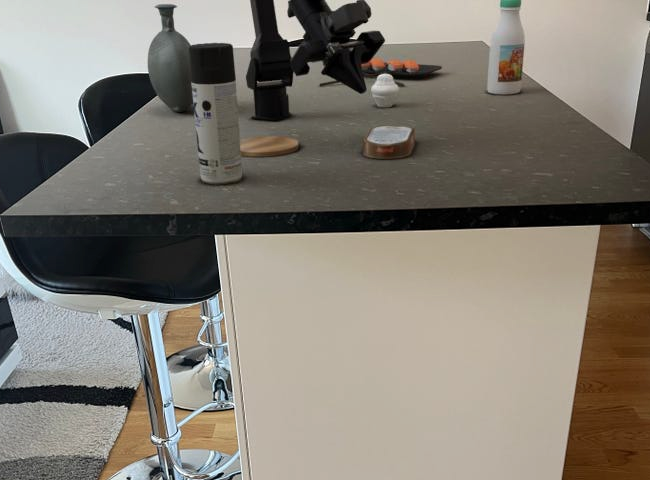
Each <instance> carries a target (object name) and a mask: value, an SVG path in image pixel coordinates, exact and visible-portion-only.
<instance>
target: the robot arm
mask: <svg viewBox="0 0 650 480" xmlns="http://www.w3.org/2000/svg"><path fill="white" fill-rule="evenodd" d="M249 2H250V10H251V16H252V23H253V29H254V36H255V38H254V41H253V43H252V47H251V49H250V52H249V53H250V54H249V55H250V60H249V63H248V67H247V71H246V75H245V81H246V87H247V88H248V89H250V90H252V92H253V105H254V115H251V116H250V119H251V120H263V121H273V122H274V121H280V120H283V119H285V118H287V117H290V116H292V112H290V102H289V100H290V97H289V94H288V93H287V88H288V87H289V88H291V87H293V83H294V75H295V76H296V77H301V76H307V75H309V73H310V70H311V67H310V66H309V64H308V63H312V64H314V63H318V62H322V66H323V68H322V70H321V71H320V74H321V75H322V76H327V77H329V78H331V79H333V80H334V81H339V82H340V84H342V85H344V86H345V87H348V88H350V89H351V90H352V91H355V92H356V93H358V94H360V95H363V94H365V93H366V92H367V84H366V81H365V80H366V79H365V78H364V75H363V71H362V66H361V64H366V63H368V62H369V61H371V59H373V58H375V55H376V54H377V53H378V52H379V50H380V49H381V47H382V46H383V45H384V43H385V42H386V38H385V37H384V36H383V34H382V32H381V31H380V30H367V31H362V32H360V33H359V35H358V36H357V38H356V39H355V41H351V40H350V39H352V38H353V37H354V36H355V35H356V30H355V29H357V28H358V27H360V26H362V25H365V24H367V23H368V22H369V19H370V18H371V17H372V14H373V13H372V8H371V6H370V5H369V4H368V3H367V1H366V0H356V2H349V3H346V4H343V5H341V6H340V7H338V8H337V9H335V10H332V9H331V7H330V6H329V4H328V3H327V1H326V0H288V1H287V4H288V5H287V18H289V19H291V18H294V17H295V18H296V20H297V21H298V23H299V25H300V26H301V27H302V29H303V30H304V34H303V36H302V38H303V40H302V41H301V43H300V44H299V46H298V48H297V49H296V51H295V52H294V54H293V55H292V54H291V49H290V48H291V47H290V43H289V41H288V39H287V38H285V39H284V38H283V37H282V36H281V34H280V33H279V28H278V21H277V15H276V14H277V13H276V7H275V0H249Z"/></svg>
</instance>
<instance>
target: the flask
mask: <svg viewBox="0 0 650 480" xmlns="http://www.w3.org/2000/svg"><path fill="white" fill-rule="evenodd" d="M154 8H155V9H157V10H158V13H159V16H160V20H161V21H160V22H161V30H160V31H159V32H158V33H157V34H156V35H155V36H154V37H153V39H152V40H151V41H150V44H149V48H148V53H147V73H148V77H149V81H150V84H151V86H152V88H153V91H154V92H155V94H156V95H157V97H158V98H159V99H160V101H161V102H162V103H163V104H164V105H165V106H166V107H168V108H169V109H170V110H173V111H175V112H177V113H178V112H179V113H181V112H186V111H188V110H189V109H190V108H191V107H192V106H193V105H194V104H193V94H192V83H191V72H190V59H189V46H191V45H192V44H191V43H190V42H189V40H188V39H187V38H186V37H185V36H184V35H183V34H181V33H180V32H178V30H176V29H175V20H174V10H175V8H178V6H177V5H176V4H171V3H162V4H161V3H159V4H156V5H154Z"/></svg>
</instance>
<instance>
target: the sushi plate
mask: <svg viewBox="0 0 650 480" xmlns="http://www.w3.org/2000/svg"><path fill="white" fill-rule="evenodd" d="M361 66H362V71H363V75H364V79H365V78H369V77H371V78H374V79H377V77H378V76H379V75H381V74H384V73H386V74H390V75H391V76H392V77H393V79H406V80H407V79H409V80H412V79H413V80H415V79H416V80H417V79H421V78H425V77H427V76H429V74H431V73H434V72H437V71H440V70H442V69H443V66H442V65H435V64H419V63H418V62H416V61H415V60H414V59H413V60H412V59H405V60H402V62H401V61H400V60H399V59H391V60H389V61H387V62H384V61H383V60H382V59H381V58H378V57H377V58H376V57H373V58H372V59H371V61H369V62H368V63H366V64H361ZM393 81H394V82H395V84H397V86H398V87H399V86H400V87H405V84H404V83H403V82H400V81H395V80H393ZM335 84H341V82H339V81H337V80H332V81H326V82H321V83H319V86H320V87H323V86H329V85H335Z"/></svg>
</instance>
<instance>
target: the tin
mask: <svg viewBox="0 0 650 480" xmlns="http://www.w3.org/2000/svg"><path fill="white" fill-rule="evenodd" d="M415 135H416V134H415V129H414V128H413V127H411V126H407V125H401V126H400V125H399V126H398V125H397V126H395V125H379V126H374V127H372V128H370V130H368V133H367V134H366V135H365V137H364V138H363V143H362V150H363V151H362V155H363V156H364V157H367V158H371V159H378V160H394V159H402V158H405V157H408V156H410V155H411V154H412V152H413V150H414V149H413V148H414V147H415V145H416V141H415V139H416V138H415V137H416V136H415Z"/></svg>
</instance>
